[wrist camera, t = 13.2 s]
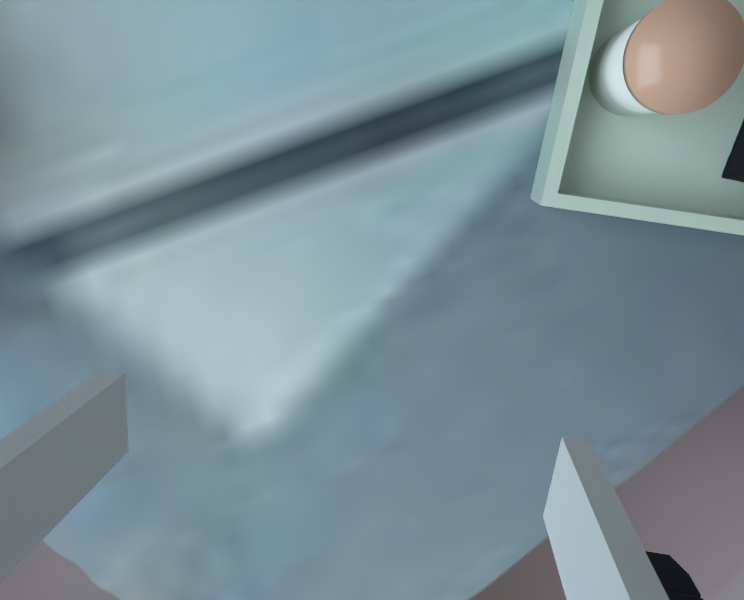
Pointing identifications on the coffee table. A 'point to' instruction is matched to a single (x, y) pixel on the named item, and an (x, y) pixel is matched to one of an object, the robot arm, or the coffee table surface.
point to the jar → (670, 59)
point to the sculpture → (736, 159)
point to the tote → (636, 141)
